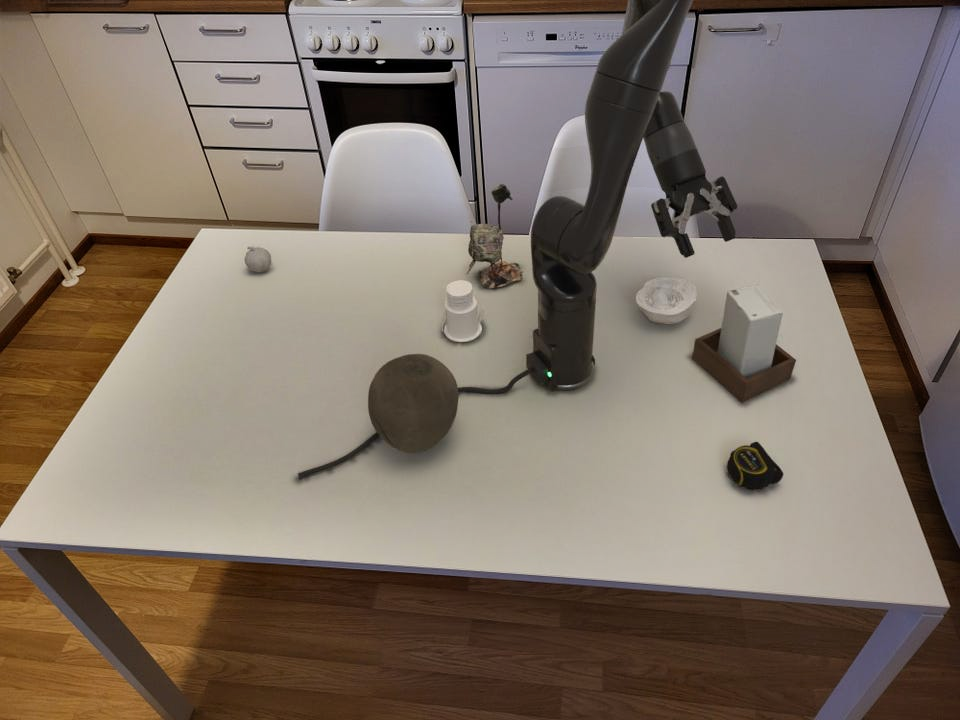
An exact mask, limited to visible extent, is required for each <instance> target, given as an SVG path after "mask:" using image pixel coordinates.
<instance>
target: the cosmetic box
mask: <svg viewBox="0 0 960 720" xmlns="http://www.w3.org/2000/svg"><path fill="white" fill-rule="evenodd" d="M723 309H724V310H723V316H722V321H721V322H722V323H721V327H720V328H721V334H720V340H719V346H718V350H717V352H716V353H717V354H719V355H720V356H721V357H722V358H723V359H724V360H726V361H727V362H728V363H729V364H730V365H731V366H733V367H734V368H735V369H736V370H737V371H738V372H740V373H741V374H742V375H743V376H744V377H745V378H747V379H748V378H751V377H753V376H755V375H757V374H759V373H761V372H763V371H765V370H767V369H769V368H771V365H772V360H773V356H774V351H775V346H776V344H777V342H778V337H779V332H780V327H781V323H782V318H783V314H784V311H783V310H782V309H781V308H780V307H779V305H778V304H777V303H776V302H775V301H774V300H773V299H772V298H771V296H770V295H769V294H768V293H767V292H766V291H765V289H763V287H762V286H761V285H760V284H753V285H750V286H745V287H741V288H736V289H733V290H728V291H727V292H726V297H725V303H724V308H723Z"/></svg>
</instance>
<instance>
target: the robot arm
mask: <svg viewBox="0 0 960 720" xmlns="http://www.w3.org/2000/svg"><path fill="white" fill-rule="evenodd" d="M693 2H694V0H627V5H626V10H625V15H624V21H623V26H622V31H621V35H620V36H618V38H616V39H615V41H613V42H612V43H611V45H610V46H609V47H607V49H605V51H604V52H603V54H602V55H601V57H599V61H598V63H597V66H596V69H595V72H594V75H593V78H592V81H591V84H590V87H589V90H588V94H587V96H586V100H585V104H584V125H585V132H586V139H587V145H588V151H589V157H590V179H589V180H590V181H589V187H588V192H587V196H586V200H585V202H584V204H582V203H580V202H578V201H576V200H574V199H572V198H570V197H568V196H564V195H556V196H551V197H550V198H548V199H547V200H545V201H544V202H543V203H542V205H541V206H540V207H539V209H538V210H537V211H536V213H535V216H534V218H533V221H532V225H531V230H530V256H531V257H530V258H531V269H532V280H533V283H534V285H535V287H536V289H537V328H535V329H533V330H532V352H529V353H526V354H525V358H526V359H525V360H526V363H525V364H526V365H525V367H526V370H524V371H522V372H521V373H518V374H517V375H516V376H514V377H513V378H512V379H511V380H510V381H509V383H508V384H507V385H506V386H503V387H501V388H495V389H493V388H491V389H490V388H482V387H476V386H475V387H473V386H462V387H461V386H460V387H458V394H459V393H476V394H477V393H478V394H484V395H485V394H486V395H499V394H503V393H507V392H509V391H510V390H511V389H512V388H513V387H514V385H515V384H516V383H517V382H519V381H520V380H522V379H524V378H525V377H527V376H529V375H531V376H532V378H533V379H534V381H535V383H536V384H537V385H538V386H539V385H543V384H544V385H545V386H546V387H547V388H548V389H549V391H550V392H555V391H572V390H577V389H579V388H581V387H584V385H586V384H587V383H588V382H589V381H590V379H591V378H592V374H593V366H594V367H595V366H596V359H595V357H594V355H593V354H594V353H593V352H594V335H595V334H594V333H595V318H596V304H597V291H598V290H597V289H598V284H597V279H596V276H595V274H594V273H593V271H595V270H596V269H598V267H599V266H600V265H601V263H602V262H603V261H604V259H605V257H606V256H607V253H608V251H609V249H610V247H611V244H612V241H613V238H614V235H615V232H616V229H617V224H618V222H619V217H620V213H621V210H622V206H623V202H624V198H625V195H626V191H627V187H628V184H629V181H630V177H631V175H632V174H631V173H632V171H633V168H634V164H635V162H636V159H637V156H638V153H639V150H640V147H641V145H642V142H644V145H645V149H646V153H647V156H648V159H649V161H650V163H651V167H652V168H653V171H654V174H655V176H656V179H657V181H658V184H659V186H660V189H661V191H662V192H664V194H665V198H658V199H657V200H656V201H654V202H652V203H651V205H650V206H651V210H652V213H653V217H654V219H655V222H656V225H657V228H658V231H659V234H660V236H661V238H666V237H670V238H673V239H674V242H675V244H676V247H677V249H678V251H679V254H680V255H681V256H683V258H685V259H687V258H690V257H691V256H694V255H695V253H696V252H695V250H694V249H695V248H694V247H693V245H692V242H691V239H690V237H689V235H688V233H687V232H686V228H687V224H688V221H689V220H690V217H693V216H695V215H699V214H701V213H705V214H706V215H710V216H712V217H713V218H715V220H718V221H716V224H717V226H718V229H719V231H720V234H721V237H722V239H723V241H724V242H725V243H727V242H730V241H732V240H735V238H736V229H735V226H734V224H733V222H732V219H731V214H732V213H733V212H734V211H735V210H737V208H738V204H737V201H736V199H735V197H734V195H733V192H732V191H731V188H730V186H729V184H728V182H727V180H726V177H724V176H719V177H717V178H715V179H714V180H712V181H709V180H708V179H707V176H706V174H707V170H706V168H705V165H704V162H703V161H702V158H701V155H700V152H699V150H698V148H697V145H696V143H695V140H694V137H693V135H692V133H691V131H690V129H689V128H688V126H687V124H686V122H685V119H684V116H683V114H682V112H681V109H680V107H679V104H678V101H677V99H676V97H675V95H674V94H673V93H672V92H671V91H667V90H666V91H662V89H663V86H664V83H665V81H666V77H667V74H668V71H670V70H669V69H670V68H671V64H672V59H673V56H674V53H675V49H676V46H677V45H678V41H679V38H680V35H681V32H682V28H683V27H684V24H685V21H686V19H687V17H688V14H689V11H690V9H691V6H692V4H693ZM713 193H714V195H712V194H713ZM670 208H671V210H673V213H672V217H671V214H670V211H669V210H670ZM379 437H380V436H379V434H378V433H377V432H376V431H375V433H373V434H372V435H371V436H369V438H367V439H366V440H365V441H363V442H362V443H361V444H360V445H359V446H357V447H356V448H354V449H353V450H351V451H350V452H348V453H347V454H345V455H344V456H341V457H340V458H338V459H335V460H333V461H330V462H328V463H325V464H323V465H318V466H316V467H313V468H310V469H309V468H308V469H306V470H304V471H300V472H298V473H297V476H298V479H302V478H305V477H307V476H310V475H313V474H314V475H315V474H317V473H320V472H323V471H326V470H329V469H332V468H334V467H337V466H339V465H341V464H342V463H345V462H346V461H348V460H350V459H352V458H353V457H355V456H356V455H358V454H360V452H361V451H363V450H364V449H366V448H367V447H368V446H369V445H371V444H372V443H373V442H374V441H375V440H376V439H378V438H379Z"/></svg>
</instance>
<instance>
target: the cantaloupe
mask: <svg viewBox="0 0 960 720" xmlns="http://www.w3.org/2000/svg"><path fill="white" fill-rule="evenodd" d="M458 388H459V387H458V383H457V380H456V378H455V376H454V374H453V373H452V371H451V370H450V368H448V367H447V366H446V365H445V364H444V363H443V362H442V361H440V360H439V359H437V358H435V357H433V356H431V355H428V354H424V353H411V354H410V353H409V354H405V355H401V356H399V357H395V358H393V359H391V360H389V361H387V362H386V363H385V364H383V365H382V366H381V367H380V368H379V369H378V370H377V371H376V372H375V375H374V376H373V378H372V380H371V381H370V385H369V388H368V395H367V398H368V399H367V410H368V416H369V420H370V422H371V425H372V427H373V429H374V430H375V433H376V432H377V433H378V434H379V437H380V438H381V439H382V440H383V441H384V442H385V443H386V444H388V445H389V446H390V447H391V448H393V449H395V450H398V451H400V452H404V453H407V454H415V453H421V452H424V451H427V450H429V449H431V448H433V447H435V446H436V445H437V444H438V443H440V442H441V441H442V440H443V439H444V438H445V437H446V435H447V434H448V432H449V431H450V429H451V428H452V426H453V424H454V421H455V418H456V416H457V412H458V406H459V393H458Z"/></svg>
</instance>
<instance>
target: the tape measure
mask: <svg viewBox="0 0 960 720" xmlns="http://www.w3.org/2000/svg"><path fill="white" fill-rule="evenodd" d="M726 471H727V473H728V476H729V477H730V479H731V480H732V481H733V482H734V483H735V484H736V485H738V486H739V487H740V488H744V490H750V491H761V490H763V489H765V488H767V487H769V486H771V485H775V484H778V483H779V482H781V481H782V479H783V477H784V472H783V470H782V469H781V467H780V466H779V464H777V463H776V462H775V461H774V460H773V458H772V457H771V456H770V455H769V454H768V452H767V451H766V449H765V448H764V447H763V446H762V444H760V442H759V441H754V442H751V443H750V444H749V445H741V446H739V447H737V448H736V449H734V450H732V451H731V452H730V455H729V458H728V460H727V463H726Z"/></svg>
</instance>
